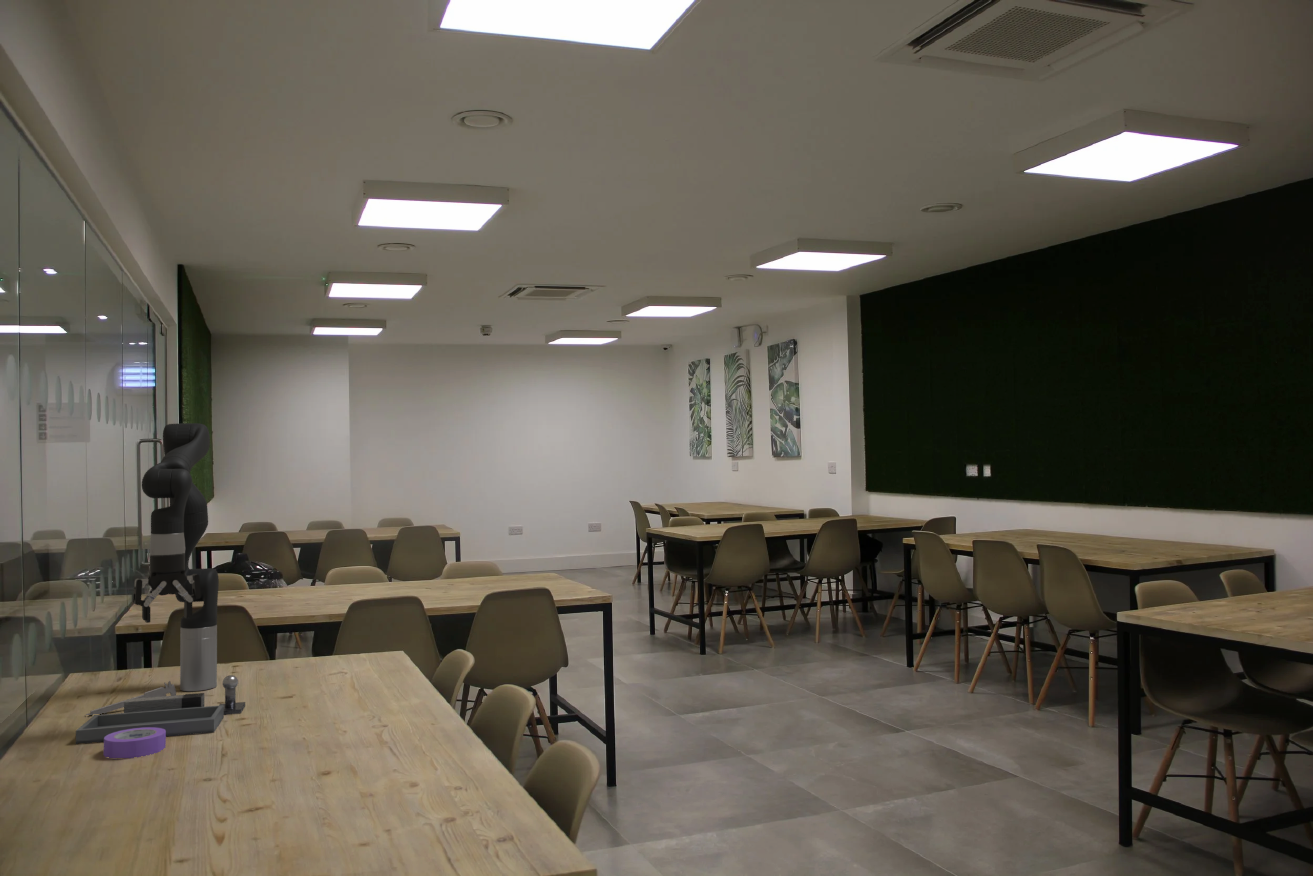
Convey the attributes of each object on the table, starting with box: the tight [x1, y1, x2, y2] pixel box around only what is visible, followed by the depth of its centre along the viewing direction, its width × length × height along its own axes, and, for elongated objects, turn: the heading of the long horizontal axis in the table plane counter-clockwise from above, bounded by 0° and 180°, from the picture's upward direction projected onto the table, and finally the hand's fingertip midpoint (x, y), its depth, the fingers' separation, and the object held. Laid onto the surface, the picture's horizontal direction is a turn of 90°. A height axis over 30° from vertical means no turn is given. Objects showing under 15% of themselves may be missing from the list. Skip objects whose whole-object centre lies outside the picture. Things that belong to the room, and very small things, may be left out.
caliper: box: [85, 680, 177, 715], centre depth 237 cm, size 20×1×6 cm, turn 129°
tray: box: [75, 704, 225, 745], centre depth 217 cm, size 14×28×3 cm, turn 107°
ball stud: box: [218, 674, 246, 715], centre depth 235 cm, size 8×6×9 cm
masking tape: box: [103, 727, 167, 759], centre depth 201 cm, size 12×12×4 cm
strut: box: [123, 692, 205, 713], centre depth 230 cm, size 4×17×4 cm, turn 107°
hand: (167, 620), depth 223 cm, fingers open, 8 cm apart
